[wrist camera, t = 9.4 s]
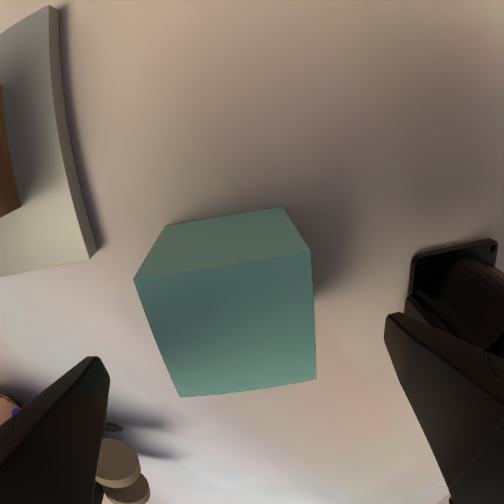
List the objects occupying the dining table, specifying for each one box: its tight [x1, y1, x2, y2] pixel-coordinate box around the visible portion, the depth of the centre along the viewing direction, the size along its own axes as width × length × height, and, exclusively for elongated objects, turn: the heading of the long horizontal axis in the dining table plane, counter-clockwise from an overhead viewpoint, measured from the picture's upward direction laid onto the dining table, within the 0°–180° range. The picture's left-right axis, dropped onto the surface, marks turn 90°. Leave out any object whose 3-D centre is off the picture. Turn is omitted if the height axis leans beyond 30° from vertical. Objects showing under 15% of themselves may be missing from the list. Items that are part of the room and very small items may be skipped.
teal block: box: [133, 207, 316, 397], centre depth 12 cm, size 5×5×5 cm
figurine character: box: [0, 394, 150, 504], centre depth 15 cm, size 7×8×15 cm
